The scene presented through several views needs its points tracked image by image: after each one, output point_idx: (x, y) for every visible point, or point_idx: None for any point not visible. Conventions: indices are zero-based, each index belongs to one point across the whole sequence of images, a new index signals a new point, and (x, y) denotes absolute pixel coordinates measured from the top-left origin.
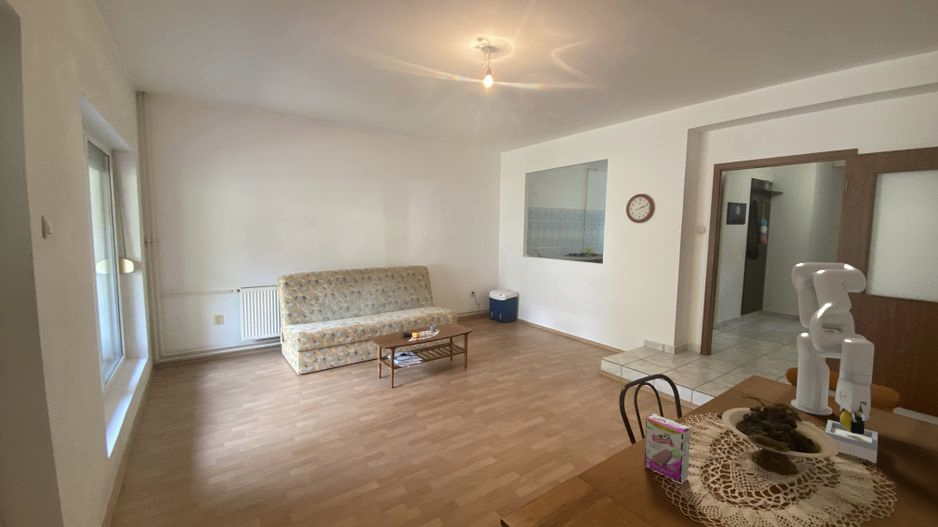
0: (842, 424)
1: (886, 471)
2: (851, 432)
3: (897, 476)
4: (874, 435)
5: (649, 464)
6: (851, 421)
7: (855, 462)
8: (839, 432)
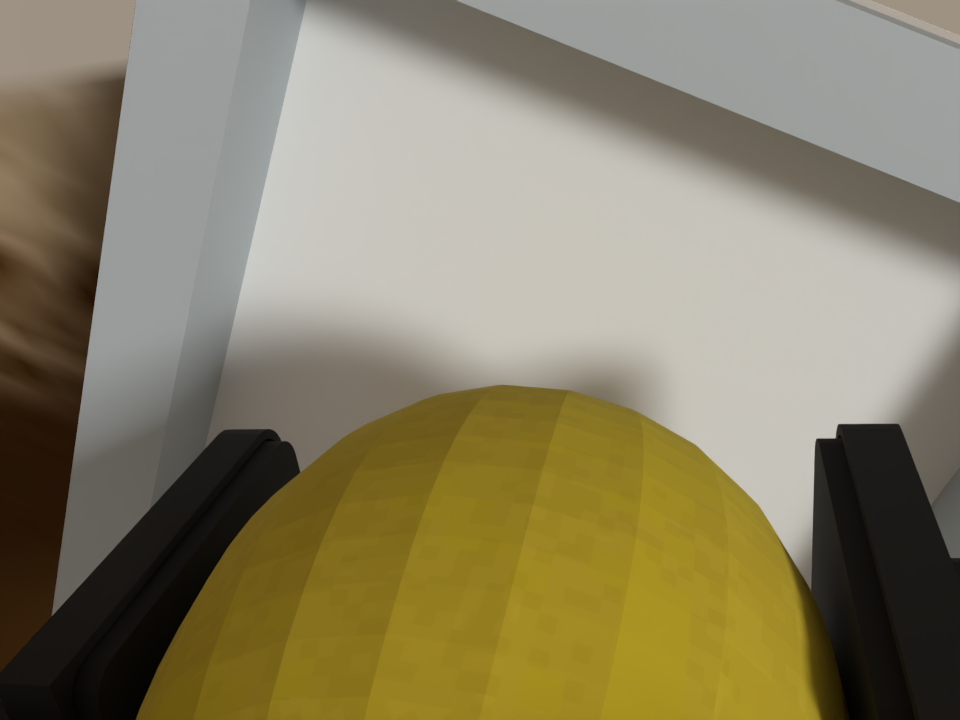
0: (470, 393)
1: (59, 452)
2: (224, 430)
3: (6, 505)
4: None
5: None
6: (37, 666)
7: (78, 176)
8: (725, 271)
